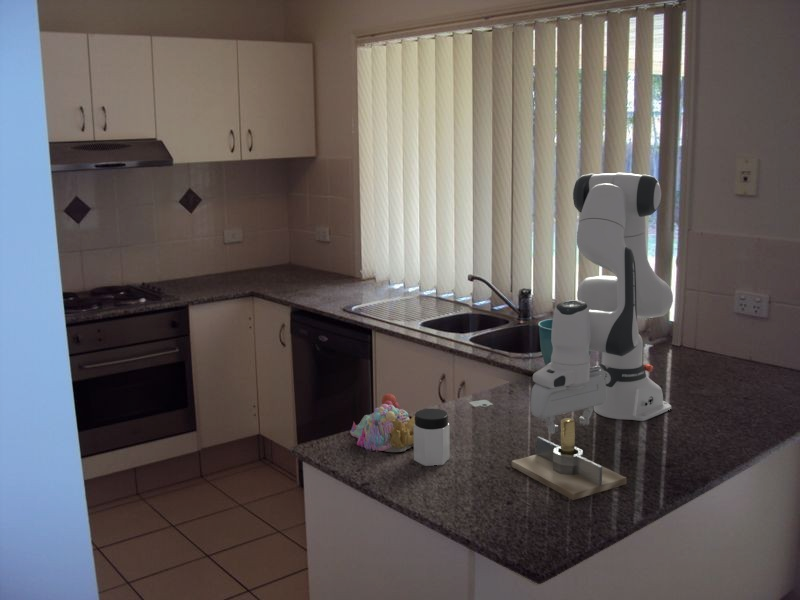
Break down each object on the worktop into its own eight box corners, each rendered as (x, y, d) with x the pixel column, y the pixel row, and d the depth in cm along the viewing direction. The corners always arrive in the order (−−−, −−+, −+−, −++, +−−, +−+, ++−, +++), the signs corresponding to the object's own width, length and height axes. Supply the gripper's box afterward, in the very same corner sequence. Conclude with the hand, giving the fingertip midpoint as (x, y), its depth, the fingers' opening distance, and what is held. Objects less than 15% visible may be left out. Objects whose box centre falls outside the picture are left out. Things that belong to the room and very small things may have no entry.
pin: (568, 465, 204) (568, 417, 202) (577, 469, 201) (577, 421, 199) (558, 468, 203) (557, 420, 200) (567, 472, 200) (567, 424, 197)
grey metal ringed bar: (548, 451, 213) (548, 434, 212) (611, 482, 194) (612, 463, 193) (527, 456, 210) (527, 439, 209) (589, 488, 191) (589, 470, 190)
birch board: (562, 453, 215) (562, 447, 215) (626, 484, 197) (626, 477, 197) (511, 466, 208) (511, 460, 207) (572, 500, 189) (573, 493, 189)
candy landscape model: (456, 435, 230) (456, 402, 228) (397, 462, 213) (396, 426, 211) (388, 415, 246) (387, 384, 244) (328, 438, 229) (326, 405, 227)
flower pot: (561, 363, 293) (562, 315, 290) (605, 375, 280) (606, 324, 276) (526, 374, 282) (526, 324, 278) (569, 386, 268) (570, 333, 265)
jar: (423, 451, 218) (423, 406, 216) (453, 455, 215) (453, 410, 213) (409, 463, 210) (408, 417, 208) (440, 468, 207) (440, 421, 205)
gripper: (594, 361, 205) (593, 416, 208) (526, 375, 195) (526, 433, 198) (613, 367, 199) (611, 423, 202) (544, 382, 190) (543, 441, 193)
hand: (568, 428), depth 200 cm, fingers open, 8 cm apart
